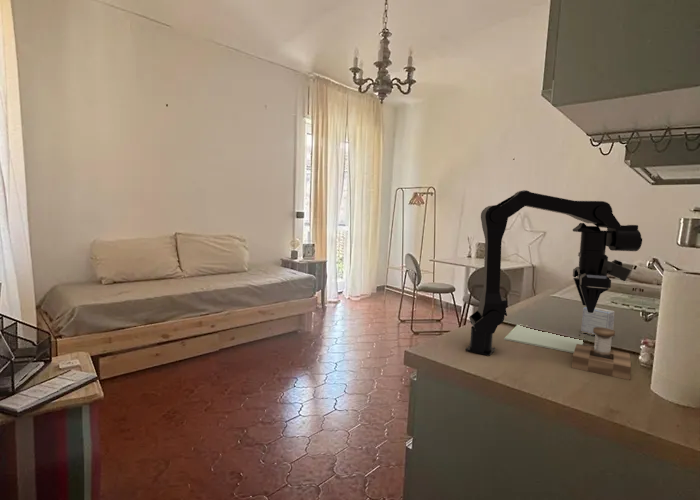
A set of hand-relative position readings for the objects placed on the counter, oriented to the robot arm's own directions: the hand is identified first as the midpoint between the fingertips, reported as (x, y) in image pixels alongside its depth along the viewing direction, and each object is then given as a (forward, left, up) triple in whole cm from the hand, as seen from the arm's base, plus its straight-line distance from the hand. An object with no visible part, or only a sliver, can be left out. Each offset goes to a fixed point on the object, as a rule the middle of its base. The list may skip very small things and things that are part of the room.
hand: (587, 308), depth 107 cm
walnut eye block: (-3, -4, -14) cm, 15 cm away
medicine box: (+29, -2, -14) cm, 32 cm away
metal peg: (-3, -4, -14) cm, 15 cm away
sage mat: (+14, +11, -14) cm, 22 cm away
